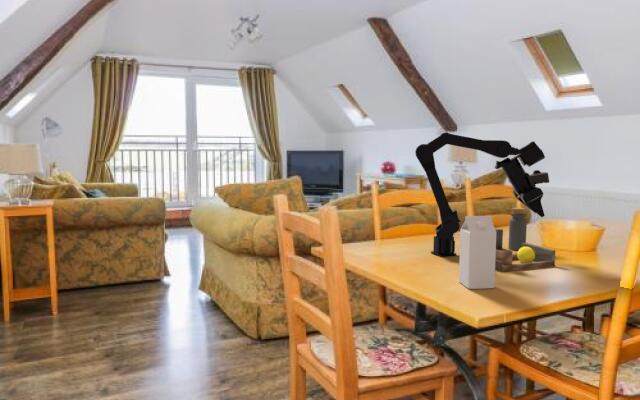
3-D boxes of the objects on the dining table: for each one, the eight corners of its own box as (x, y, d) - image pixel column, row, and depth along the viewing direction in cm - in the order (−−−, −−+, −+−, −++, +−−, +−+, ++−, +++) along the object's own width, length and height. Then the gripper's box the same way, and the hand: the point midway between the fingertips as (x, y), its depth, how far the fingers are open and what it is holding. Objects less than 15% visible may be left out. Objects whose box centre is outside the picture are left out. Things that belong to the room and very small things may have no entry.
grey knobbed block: (501, 268, 153) (502, 232, 152) (481, 262, 161) (483, 227, 160) (511, 267, 154) (513, 231, 153) (492, 261, 163) (493, 227, 161)
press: (500, 271, 150) (500, 255, 150) (472, 262, 162) (473, 247, 162) (554, 265, 158) (555, 250, 157) (524, 257, 170) (525, 242, 169)
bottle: (525, 248, 185) (526, 207, 183) (526, 251, 179) (527, 209, 177) (508, 247, 187) (509, 207, 185) (508, 250, 181) (510, 208, 179)
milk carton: (458, 282, 139) (460, 214, 137) (483, 281, 140) (485, 214, 138) (468, 289, 132) (470, 218, 130) (494, 288, 133) (497, 217, 131)
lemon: (535, 267, 158) (536, 251, 157) (517, 266, 160) (518, 250, 158) (533, 259, 165) (534, 244, 163) (515, 258, 166) (516, 243, 165)
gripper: (545, 163, 156) (571, 206, 156) (532, 160, 174) (555, 199, 174) (512, 181, 159) (537, 223, 159) (502, 176, 177) (525, 214, 177)
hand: (539, 214), depth 167 cm, fingers open, 9 cm apart
